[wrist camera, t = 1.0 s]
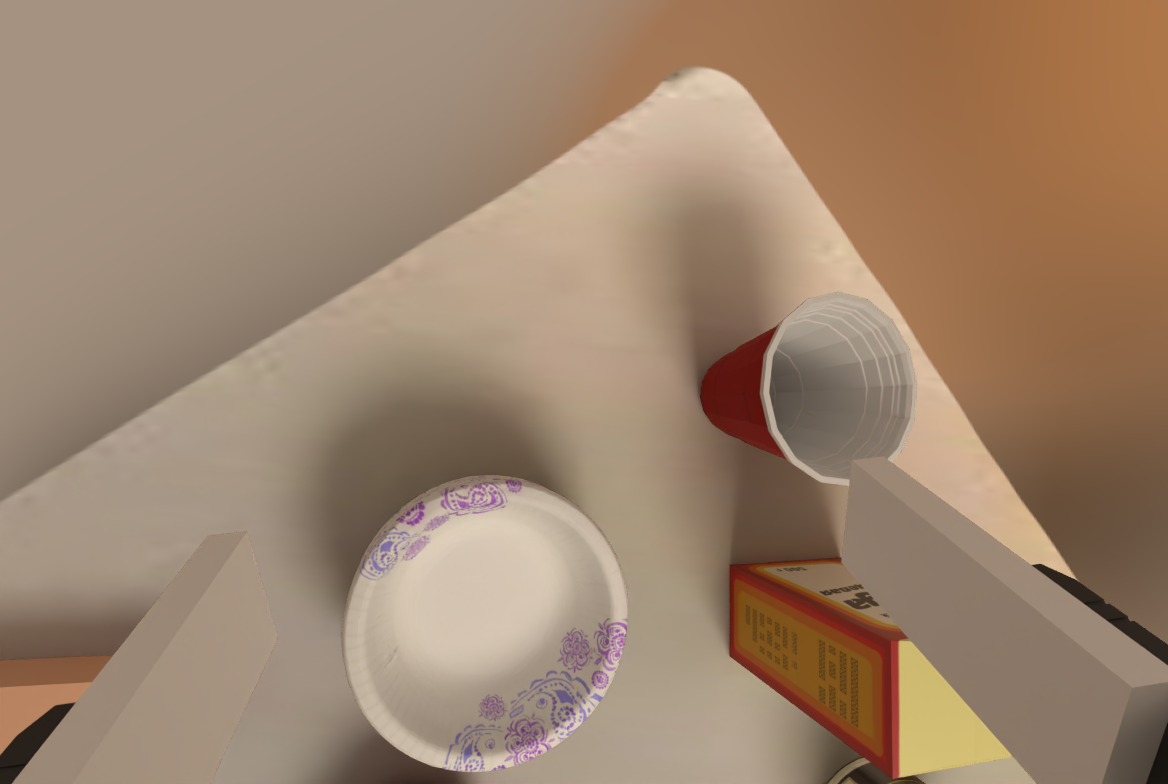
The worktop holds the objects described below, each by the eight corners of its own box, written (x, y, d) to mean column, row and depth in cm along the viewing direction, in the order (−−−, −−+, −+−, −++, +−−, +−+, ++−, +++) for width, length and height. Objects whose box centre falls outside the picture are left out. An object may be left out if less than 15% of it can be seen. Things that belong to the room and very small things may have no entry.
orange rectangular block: (224, 647, 36) (202, 675, 32) (219, 717, 36) (196, 754, 32) (-76, 662, 32) (-141, 695, 28) (-84, 740, 32) (-151, 785, 28)
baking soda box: (840, 557, 47) (1047, 626, 32) (841, 643, 47) (1050, 754, 32) (729, 565, 45) (896, 643, 30) (729, 656, 45) (898, 783, 29)
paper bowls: (461, 421, 40) (474, 422, 32) (633, 558, 43) (682, 589, 35) (297, 619, 37) (269, 673, 29) (495, 753, 40) (515, 833, 32)
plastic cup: (805, 462, 47) (935, 478, 35) (674, 474, 44) (769, 496, 32) (796, 320, 47) (923, 289, 36) (665, 322, 44) (757, 290, 33)
